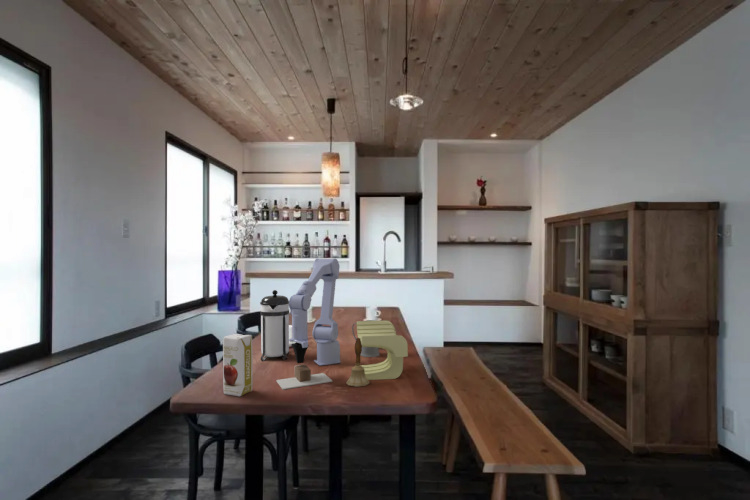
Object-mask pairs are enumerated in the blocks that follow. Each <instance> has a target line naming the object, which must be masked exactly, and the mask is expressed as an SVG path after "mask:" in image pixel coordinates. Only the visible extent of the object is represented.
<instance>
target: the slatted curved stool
mask: <svg viewBox="0 0 750 500" xmlns="http://www.w3.org/2000/svg"><path fill="white" fill-rule="evenodd" d="M356 323H357V324H356V333H357V338H360V340H361V345H362V347H378V348H379V349H383V350H385V351H387V356H386V359H385V360H384V361H381V362H377V363H372V364H364V365H363V364H362V365H361V364H360V365H361V366H362V367H364V371H365V376H366V378H367V379H368V380H369V381H371V380H372V381H373V380H374V381H375V380H394V379H397V378H399V377H400V376H401V374H402V373H403V369H404V357H409V353H408V352H409V351H408V350H409V349H408V347H409V344H408V341H407V339H406V338H405V337H404V336H403V335H397V331H396V327H395V325H394V324H393V323H392V322H391V321H390V320H381V319H380V320H374V321H367V320H359V321H358V320H357V321H356Z"/></svg>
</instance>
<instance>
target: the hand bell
mask: <svg viewBox="0 0 750 500" xmlns="http://www.w3.org/2000/svg"><path fill="white" fill-rule="evenodd" d="M361 352H362V345H361V340H360V338H358V337H356V340H355V343H354V353H355V365H354V366H353V367H351V372H350V376H349V378H348V379H347V381H346V384H347V386H350V387H355V388H357V387H358V388H360V387H365V386H368V385H369V384H370V383H371V382H370V380H368V379H367V378H366V376H365V371H364V367H362V366H361Z"/></svg>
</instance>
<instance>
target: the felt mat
mask: <svg viewBox="0 0 750 500" xmlns="http://www.w3.org/2000/svg"><path fill="white" fill-rule="evenodd" d="M275 381H276V383H277V384H278V385H279V387H280V388H281V390H290V389H295V388H301V387H308V386H314V385H315V386H316V385H320V384H327V383H332V382H333V380H332V379H331V377H329V376H327V375H326V373H324V372H321V373H315V374H311V380H310V381H304V382H299V381H298V380H297V379H296V378H295V376H294V377H288V378H280V379H276V380H275Z"/></svg>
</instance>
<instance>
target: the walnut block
mask: <svg viewBox="0 0 750 500" xmlns="http://www.w3.org/2000/svg"><path fill="white" fill-rule="evenodd" d="M311 373H312V372H311V368H310V367H308V365H306V364H298V365H294V377H295V378H296V379H297V380H298V381H299V382H304V381H310V380H311V375H312V374H311Z"/></svg>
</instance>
